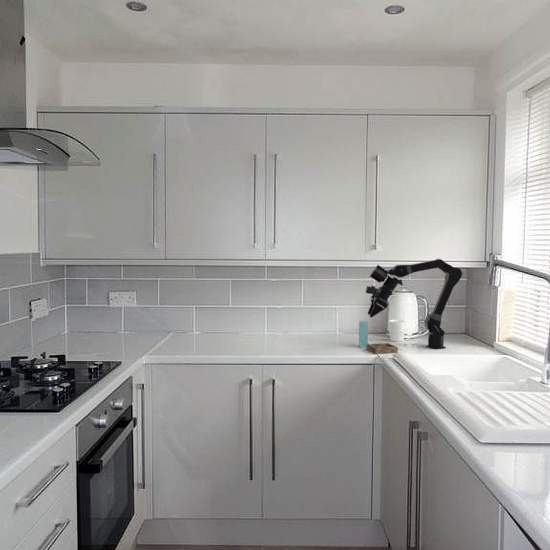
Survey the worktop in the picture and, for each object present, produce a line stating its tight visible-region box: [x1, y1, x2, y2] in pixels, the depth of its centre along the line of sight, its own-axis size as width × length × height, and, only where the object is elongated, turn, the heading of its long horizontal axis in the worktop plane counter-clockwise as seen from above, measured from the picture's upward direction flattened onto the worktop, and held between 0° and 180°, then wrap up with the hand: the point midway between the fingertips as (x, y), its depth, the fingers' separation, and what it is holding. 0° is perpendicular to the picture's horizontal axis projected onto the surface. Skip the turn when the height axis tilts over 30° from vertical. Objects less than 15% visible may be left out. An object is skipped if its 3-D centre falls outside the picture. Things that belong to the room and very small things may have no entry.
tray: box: [365, 342, 399, 355], centre depth 237 cm, size 11×10×2 cm
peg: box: [358, 320, 369, 349], centre depth 247 cm, size 4×4×12 cm
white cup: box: [388, 319, 406, 343], centre depth 262 cm, size 8×8×10 cm
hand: (369, 315), depth 246 cm, fingers open, 9 cm apart
